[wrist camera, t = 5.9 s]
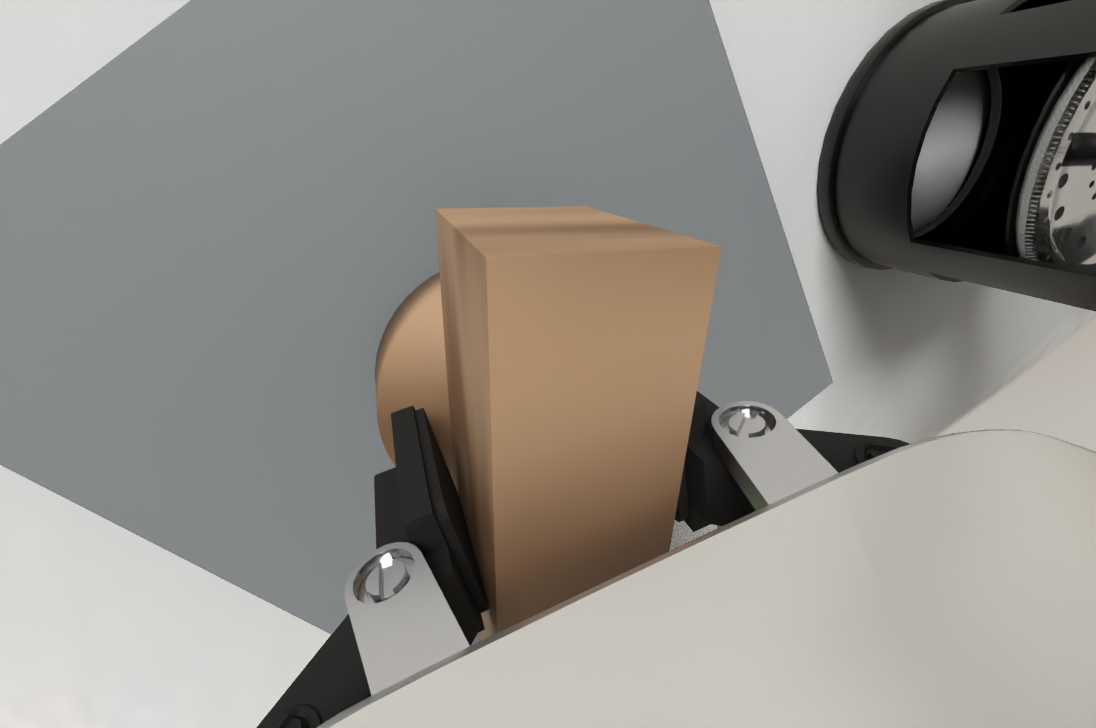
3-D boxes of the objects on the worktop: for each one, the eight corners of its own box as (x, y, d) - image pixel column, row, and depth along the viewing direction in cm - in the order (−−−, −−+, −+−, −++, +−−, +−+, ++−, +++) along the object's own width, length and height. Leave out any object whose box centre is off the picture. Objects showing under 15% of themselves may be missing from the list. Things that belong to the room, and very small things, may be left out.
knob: (349, 199, 11) (332, 265, 5) (614, 197, 14) (814, 242, 8) (410, 628, 18) (433, 881, 12) (585, 580, 20) (681, 771, 14)
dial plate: (577, -261, 11) (611, -324, 9) (805, 367, 22) (836, 384, 20) (-176, 311, 10) (-264, 339, 9) (437, 658, 21) (442, 696, 20)
